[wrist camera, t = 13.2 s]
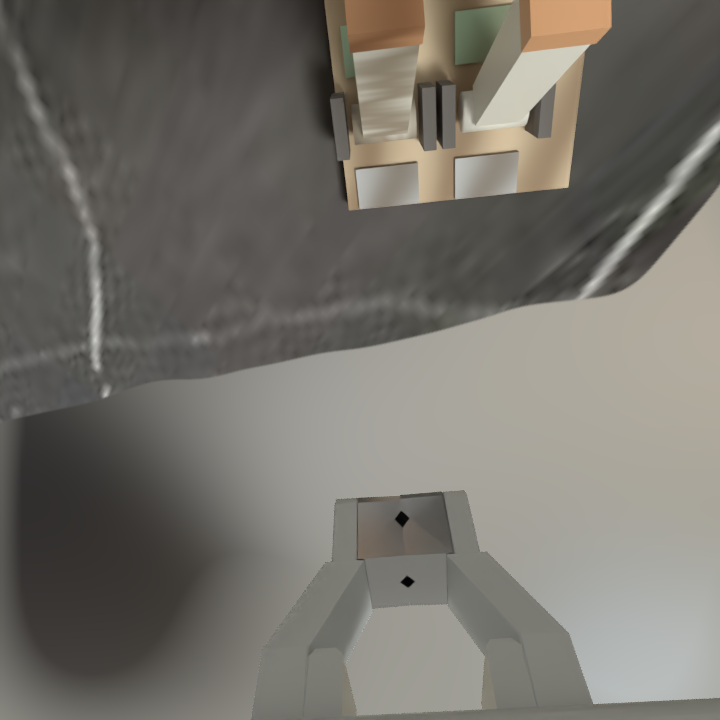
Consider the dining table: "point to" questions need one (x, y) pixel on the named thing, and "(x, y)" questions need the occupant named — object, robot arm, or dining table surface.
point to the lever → (530, 59)
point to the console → (434, 106)
